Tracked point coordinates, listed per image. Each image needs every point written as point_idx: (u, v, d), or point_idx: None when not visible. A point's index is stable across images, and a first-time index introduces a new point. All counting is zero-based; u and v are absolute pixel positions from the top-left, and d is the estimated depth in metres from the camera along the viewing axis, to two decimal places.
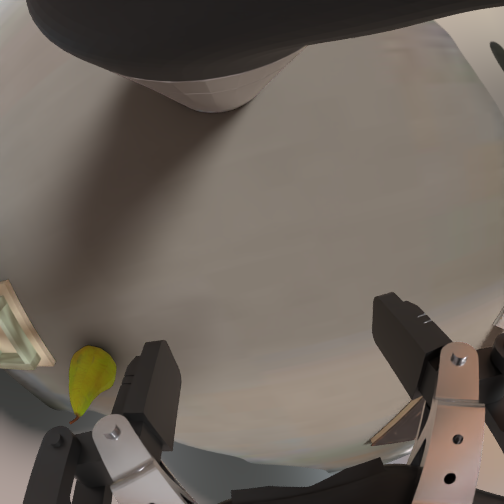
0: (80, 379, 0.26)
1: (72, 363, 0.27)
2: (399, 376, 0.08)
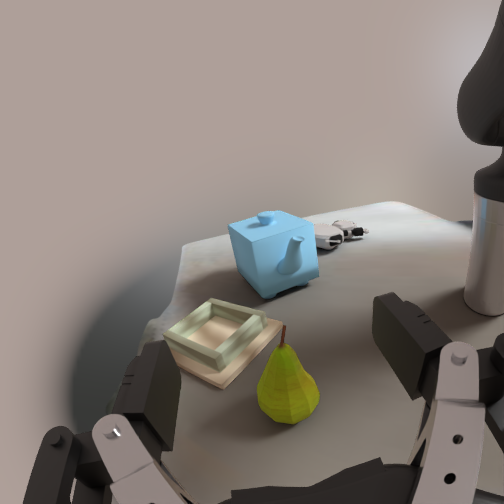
0: None
1: None
2: (399, 376, 0.08)
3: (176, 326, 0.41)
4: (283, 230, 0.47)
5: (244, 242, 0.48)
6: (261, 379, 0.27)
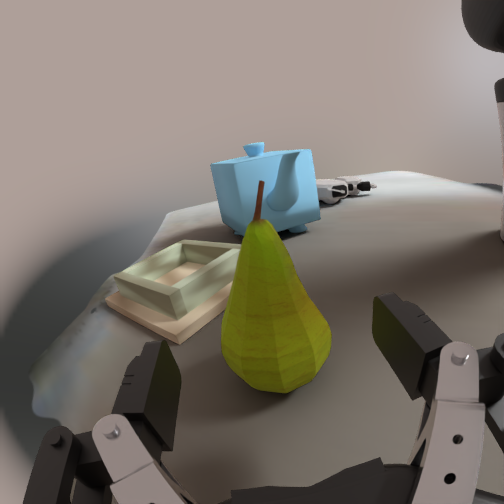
0: None
1: None
2: (399, 376, 0.08)
3: (132, 267, 0.31)
4: (274, 154, 0.36)
5: (226, 171, 0.38)
6: (227, 306, 0.16)
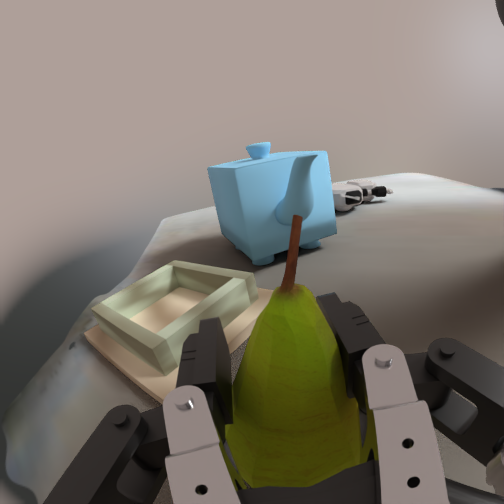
0: None
1: None
2: None
3: (113, 297, 0.25)
4: (283, 157, 0.30)
5: (225, 177, 0.32)
6: None
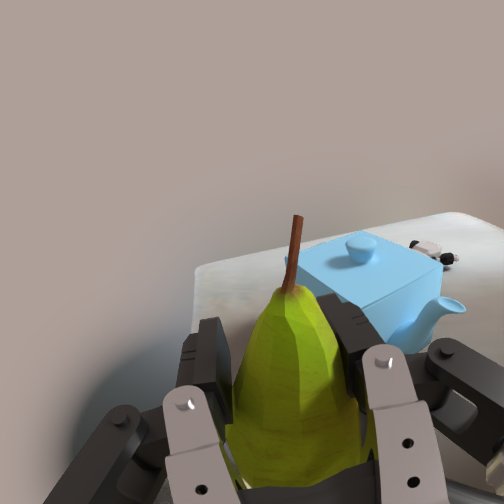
0: None
1: None
2: None
3: None
4: (404, 278, 0.23)
5: None
6: None
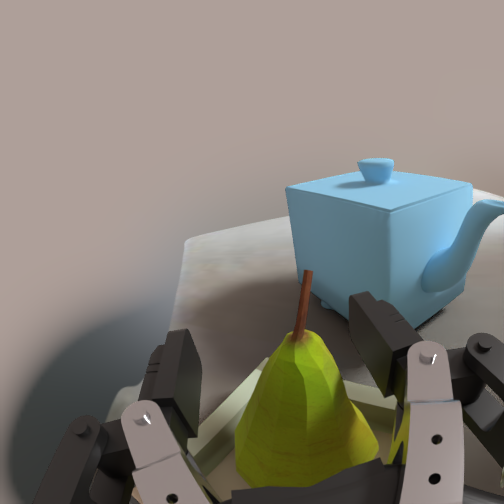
0: None
1: None
2: (372, 374, 0.09)
3: None
4: (434, 191, 0.17)
5: (347, 215, 0.19)
6: (243, 420, 0.10)
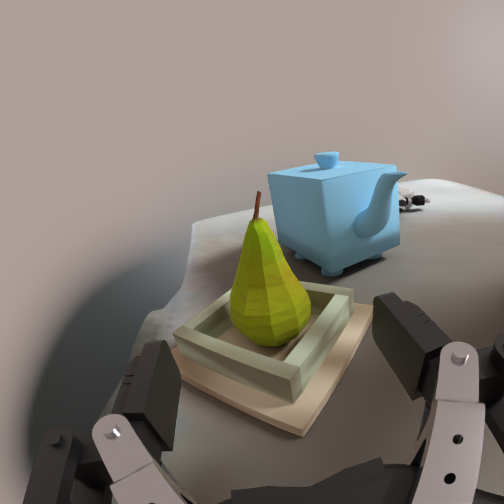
0: None
1: None
2: (399, 376, 0.08)
3: (197, 319, 0.24)
4: (361, 170, 0.29)
5: (302, 187, 0.31)
6: (234, 281, 0.22)
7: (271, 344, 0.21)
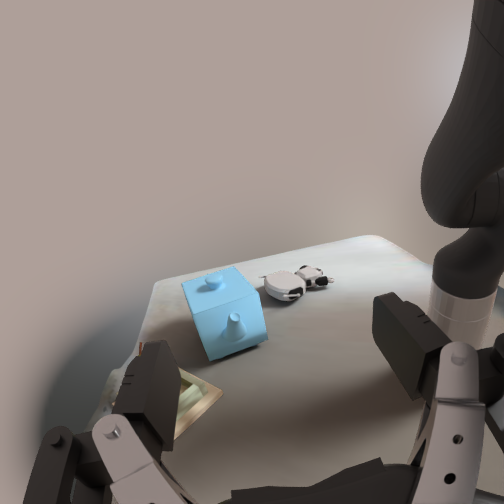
0: None
1: None
2: (399, 376, 0.08)
3: None
4: (227, 300, 0.46)
5: None
6: None
7: None
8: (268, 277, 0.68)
